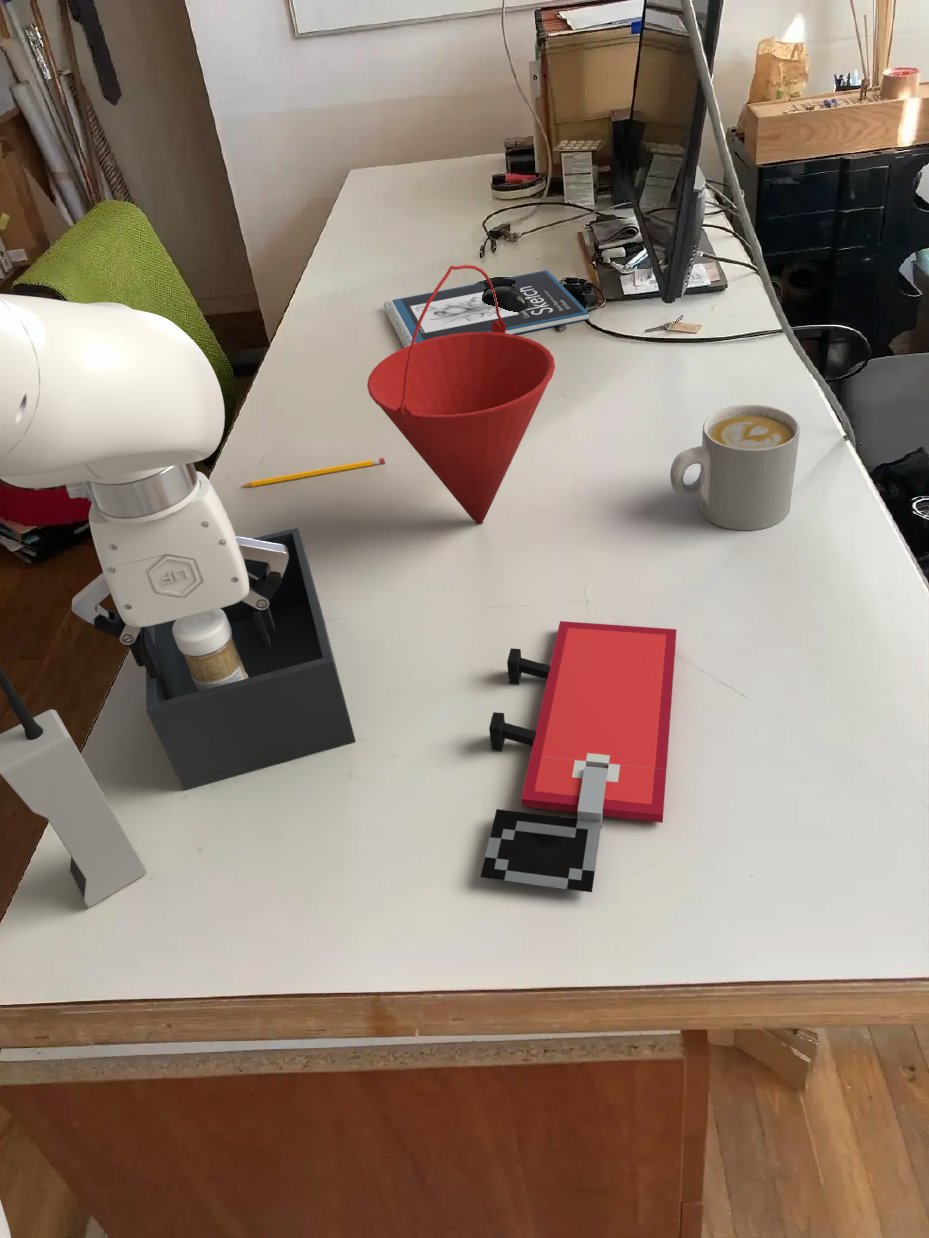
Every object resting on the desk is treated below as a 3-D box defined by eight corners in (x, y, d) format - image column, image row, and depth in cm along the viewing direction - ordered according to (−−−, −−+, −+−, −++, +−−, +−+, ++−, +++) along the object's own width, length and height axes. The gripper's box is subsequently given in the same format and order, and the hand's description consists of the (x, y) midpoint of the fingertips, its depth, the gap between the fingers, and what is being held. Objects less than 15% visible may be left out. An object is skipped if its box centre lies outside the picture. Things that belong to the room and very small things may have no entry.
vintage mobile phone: (74, 879, 76) (-73, 654, 60) (132, 846, 78) (4, 619, 62) (89, 910, 73) (-61, 683, 57) (148, 874, 75) (19, 646, 59)
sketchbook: (589, 320, 149) (589, 308, 148) (408, 359, 146) (406, 347, 144) (547, 276, 166) (547, 265, 164) (383, 310, 162) (381, 298, 161)
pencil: (385, 464, 122) (384, 460, 121) (239, 490, 121) (238, 486, 120) (384, 461, 122) (383, 457, 122) (239, 487, 121) (238, 483, 121)
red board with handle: (457, 881, 71) (656, 908, 68) (453, 859, 69) (657, 885, 66) (523, 629, 93) (675, 640, 90) (521, 607, 92) (677, 618, 88)
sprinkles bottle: (264, 709, 87) (225, 598, 79) (267, 743, 84) (226, 631, 75) (216, 720, 87) (171, 610, 78) (216, 755, 83) (169, 644, 75)
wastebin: (355, 741, 84) (333, 661, 78) (183, 790, 82) (146, 711, 75) (319, 602, 100) (298, 526, 94) (175, 640, 98) (143, 565, 92)
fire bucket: (450, 463, 120) (416, 223, 101) (592, 489, 111) (584, 232, 92) (359, 558, 106) (300, 300, 87) (514, 595, 98) (485, 319, 78)
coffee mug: (781, 479, 108) (790, 401, 102) (797, 528, 101) (808, 447, 94) (664, 485, 110) (666, 409, 104) (672, 534, 103) (674, 455, 96)
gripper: (17, 535, 64) (106, 710, 75) (265, 476, 66) (316, 653, 77) (26, 482, 70) (108, 652, 81) (255, 429, 72) (304, 601, 83)
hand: (210, 652), depth 79 cm, fingers open, 9 cm apart
